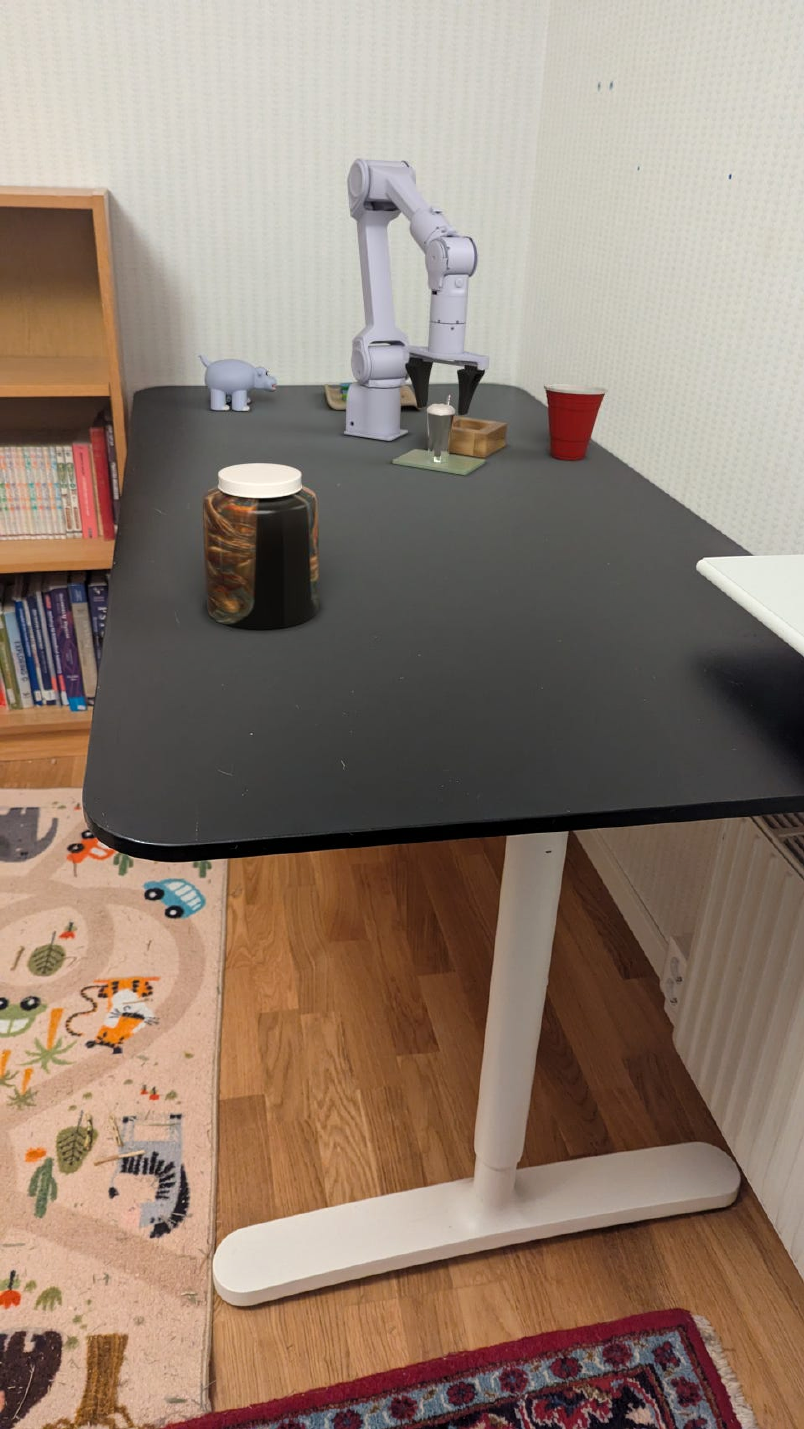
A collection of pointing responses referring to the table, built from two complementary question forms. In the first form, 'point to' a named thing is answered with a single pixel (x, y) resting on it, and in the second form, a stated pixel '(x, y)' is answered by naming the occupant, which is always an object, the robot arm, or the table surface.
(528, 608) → the table surface
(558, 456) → the plastic cup
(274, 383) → the hippopotamus toy
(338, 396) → the puzzle board
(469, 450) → the holder
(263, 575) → the jar
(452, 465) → the tile
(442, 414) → the milkshake
